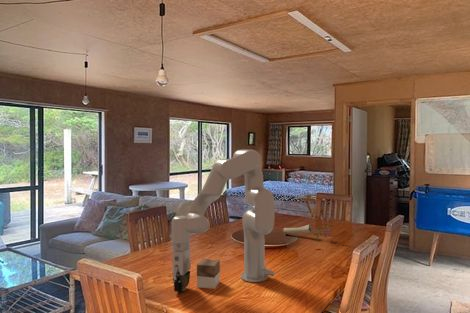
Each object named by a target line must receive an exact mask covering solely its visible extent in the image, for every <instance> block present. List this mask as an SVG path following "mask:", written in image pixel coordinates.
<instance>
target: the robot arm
mask: <svg viewBox="0 0 470 313" xmlns="http://www.w3.org/2000/svg"><path fill="white" fill-rule="evenodd" d="M261 161H262V157H261V154H260V153H259V152H258V151H257V150H255V149H246V148H245V149H238V150H236V151H235V152H234V153H233V155H232V157H230V158H219V159H217V160H216V161H215V162H214V163H213V165H212V168H211V169H210V172H209V173H208V175H207V178H206V180H205V183H204V185H203V186H202V189H201V191H200V192H199V193H197V195H196V197H195V198H194V199H193V201H192V202H191V205H190V206H189V209H188V211H187V213H186V215H177V216H176V215H175V216H174V217H173V218H172V219H171V250H172V268H171V270H172V273H173V274H172V280H173V279H174V282H173V291H174V292H178V293H182V292H181V291H182V282H181V278H182V277H181V276H183V275H185V274H186V273H187V272H188V271H191V267H192V261H191V234H204V233H206V232H207V231H208V230H209V229H210V225H211V224H210V221H209V219H208V218H207V217H206V216H204V215H205V213H206V210H207V209H208V207H209V206H210V205H211V204H212V203H213V202H216V201H217V200H218V199H219V198H221V196H222V194H223V191H224V189H225V186H226V184H227V183H228V181H229V180H233V179H236V178H238V177H241V176H243V175H244V200H245V203H246V204H247V205H248V206H250V207H252V208H251V209H249V210H248V209H247V210H246V211H245V212H244V214H243V215H242V219H241V220H242V222H241V223H242V229H243V238H244V239H243V241H244V244H243V252H244V253H243V254H244V255H243V259H244V260H243V262H244V263H243V268H244V270H243V272H241V274H240V278H241V279H242V280H243V281H246V282H250V283H262V282H265V281H267V280H268V278H269V276H270V277H271V276H272V277H275V271H273V269H268V268H267V266H265V265H266V263H265V260H266V259H265V258H266V257H265V254H266V253H265V249H266V248H265V245H266V243H265V242H266V240H265V238H266V237H265V235H268V234H270V233H271V232H272V231H273V229H274V226H275V197H274V195H273V192H272V191H271V190H270V189H268V188H265V187H264V174H263V170H262V168H261V166H260V164H261ZM177 273H180V274H177ZM177 276H180V277H179V278H178V277H177ZM184 277H185V276H184Z"/></svg>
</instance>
